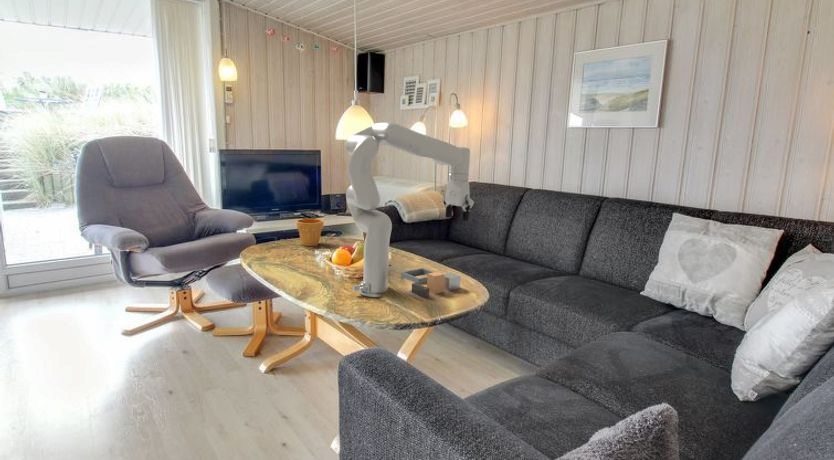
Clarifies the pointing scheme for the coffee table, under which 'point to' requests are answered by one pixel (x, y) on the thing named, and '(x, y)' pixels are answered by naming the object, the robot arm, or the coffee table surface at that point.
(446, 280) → the grey cube block
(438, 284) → the light orange block
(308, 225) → the flower pot
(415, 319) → the coffee table surface
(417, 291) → the slide board
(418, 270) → the tray
